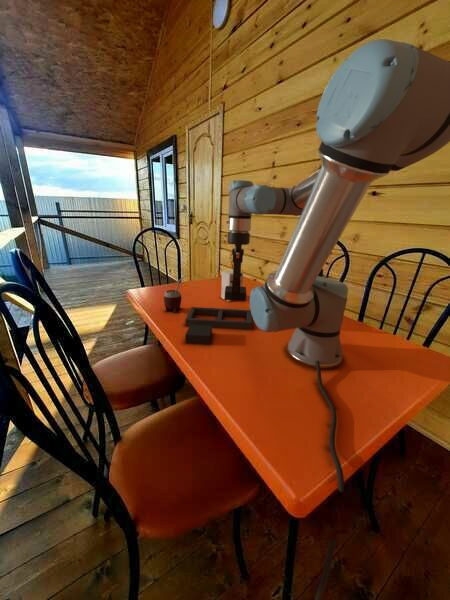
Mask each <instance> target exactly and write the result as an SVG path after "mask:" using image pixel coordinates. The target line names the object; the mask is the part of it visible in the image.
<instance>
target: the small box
mask: <svg viewBox="0 0 450 600" xmlns="http://www.w3.org/2000/svg"><path fill="white" fill-rule="evenodd" d="M241 273H242V276H240V280H241V282H240V287H244V286H243V283H244V272H243V271H241ZM232 280H233V269H231V270H223V271H221V293H220V294H221V295H220V296H221V297H220V298H221V299H223V300H225V289H226V286H232V283H231V281H232ZM226 301H227V302H232V300H226Z"/></svg>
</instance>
